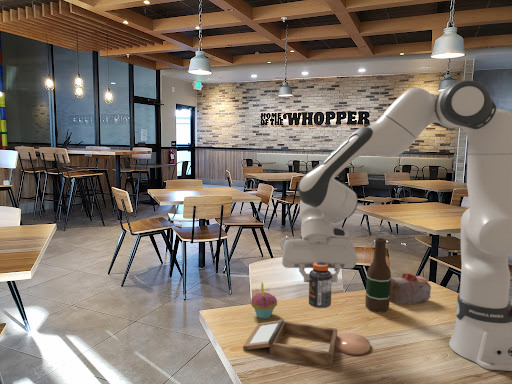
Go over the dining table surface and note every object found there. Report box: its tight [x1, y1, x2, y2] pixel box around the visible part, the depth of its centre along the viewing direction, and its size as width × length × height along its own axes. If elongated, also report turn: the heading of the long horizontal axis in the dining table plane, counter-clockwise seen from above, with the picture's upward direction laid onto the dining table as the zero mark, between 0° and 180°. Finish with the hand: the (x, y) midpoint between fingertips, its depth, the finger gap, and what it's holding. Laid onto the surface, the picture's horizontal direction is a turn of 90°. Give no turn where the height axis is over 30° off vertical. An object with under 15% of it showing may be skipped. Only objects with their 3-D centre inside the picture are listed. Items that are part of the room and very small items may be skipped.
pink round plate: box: [335, 332, 371, 356], centre depth 104 cm, size 10×10×1 cm
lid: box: [242, 319, 280, 351], centre depth 106 cm, size 7×14×3 cm, turn 163°
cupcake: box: [250, 282, 278, 319], centre depth 121 cm, size 9×8×12 cm
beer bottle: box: [365, 237, 392, 313], centre depth 127 cm, size 8×8×24 cm
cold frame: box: [268, 318, 338, 367], centre depth 103 cm, size 16×14×4 cm
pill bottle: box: [308, 262, 333, 309], centre depth 101 cm, size 6×6×11 cm
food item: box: [389, 272, 432, 306], centre depth 135 cm, size 14×8×10 cm, turn 106°
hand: (320, 281), depth 100 cm, fingers closed on pill bottle, 6 cm apart
